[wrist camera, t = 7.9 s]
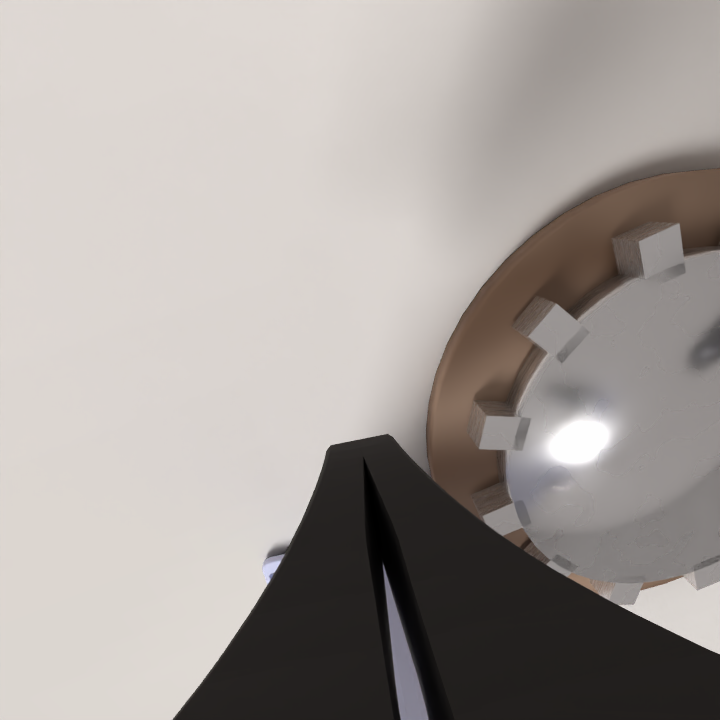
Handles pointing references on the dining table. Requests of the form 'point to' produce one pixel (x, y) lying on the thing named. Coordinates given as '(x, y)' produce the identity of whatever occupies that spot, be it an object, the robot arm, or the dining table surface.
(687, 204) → the sprocket base
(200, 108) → the dining table surface
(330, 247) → the dining table surface
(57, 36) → the dining table surface
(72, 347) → the dining table surface
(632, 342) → the sprocket
